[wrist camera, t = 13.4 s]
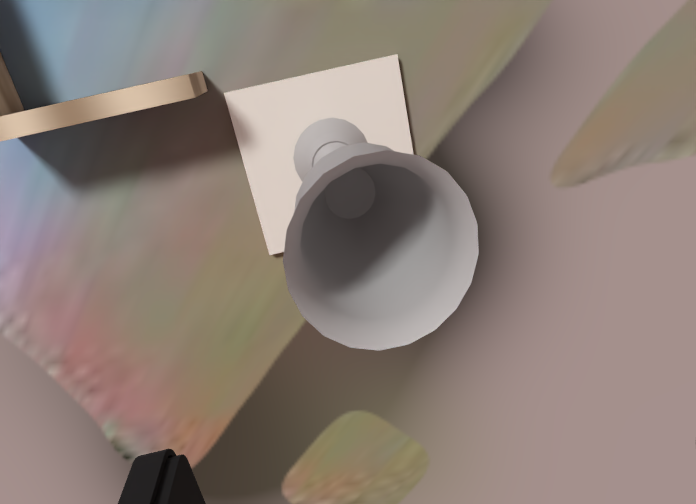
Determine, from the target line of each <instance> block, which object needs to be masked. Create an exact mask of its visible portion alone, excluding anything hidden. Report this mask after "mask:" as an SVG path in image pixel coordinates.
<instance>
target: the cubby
mask: <svg viewBox="0 0 696 504" xmlns="http://www.w3.org/2000/svg"><path fill="white" fill-rule="evenodd" d="M207 91H208V90H207V87H206V83H205V80H204V76H203V73H202V71H201V72H196V73H192V74H187V75H183V76H178V77H174V78H169V79H165V80H160V81H156V82H151V83H147V84H142V85H138V86H134V87H129V88H125V89H120V90H116V91H111V92H107V93H102V94H98V95H93V96H89V97H84V98H80V99H75V100H71V101H66V102H62V103H57V104H53V105H48V106H44V107H39V108H35V109H30V110H26V111H25V110H24V108H23V105H22V103H21V100H20V98H19V96H18V93H17V91H16V89H15V86H14V84H13V81H12V79H11V77H10V74H9V72H8V70H7V67H6V65H5V63H4V60H3V58H2V55H1V53H0V141H4V140H9V139H13V138H18V137H22V136H26V135H31V134H35V133H40V132H44V131H49V130H53V129H58V128H62V127H67V126H71V125H76V124H80V123H84V122H89V121H93V120H98V119H102V118H107V117H111V116H116V115H120V114H125V113H129V112H133V111H138V110H142V109H147V108H151V107H156V106H160V105H165V104H169V103H174V102H178V101H182V100H187V99H191V98H196V97H197V96H199V95H201V94H203V93H205V92H207Z"/></svg>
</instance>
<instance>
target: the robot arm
mask: <svg viewBox="0 0 696 504" xmlns="http://www.w3.org/2000/svg"><path fill="white" fill-rule="evenodd" d="M118 504H205V501H204V499H203V496H202V494H201V491H200V489H199V487H198V484H197V481H196V479H195V477H194V474H193V472H192V469H191V467H190V464H189V462H188V460H187V458H186V456H185V455H178V456H176V454H175V452H174V451H173V450H172V449H166V450H162V451H158V452H154V453H149V454H145V455H141V456H138V457H137V458H135V460H134V462H133V464H132V467H131V470H130V473H129V475H128V478H127V481H126V483H125V486H124V489H123V491H122V494H121V497H120V499H119V503H118Z"/></svg>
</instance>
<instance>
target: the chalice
mask: <svg viewBox="0 0 696 504" xmlns="http://www.w3.org/2000/svg"><path fill="white" fill-rule="evenodd" d="M293 159H294V164H295V170H296V172H297V174H298V175H299V177H300V179H301V181H302V184H301V187H300V189H299V191H298V193H297V195H296V202H295V210H294V214H293V217H292V219H291V221H290V223H289V225H288V228H287V231H286V239H285V248H284V256H283V264H284V269H285V274H286V280H287V285H288V290H289V292H290V294H291V296H292V298H293V300H294V301H295V303H296V305H297V307H298V309H299V311H300V312H301V314H302V316H303V317H304V318H305V319H306V320H307V321H308V322H309V323H311V324H312V325H313V326H314V327H315V328H316V329H317V330H318V331H319V332H320V333H321V334H322V335H324V336H326V337H328V338H330V339H332V340H335V341H337V342H339V343H341V344H344V345H346V346H348V347H350V348H361V349H370V350H384V349H388V348H393V347H398V346H403V345H407V344H410V343H412V342H414V341H416V340H417V339H419V338H421V337H423V336H424V335H427V334H429V333H430V332H432V331H434V330H435V329H436V328H438V327H439V325H441V324H442V323H443V322H444V321H445V320H446V319H447V318H448V317H449V316H450V315H451V314H452V313H453V312H454V311H455V310H456V309H457V307H458V305H459V304H460V302H461V300H462V298H463V296H464V295H465V293H466V291H467V290H468V288H469V286H470V285H471V282H472V278H473V274H474V270H475V266H476V262H477V258H478V254H479V251H478V227H477V222H476V219H475V216H474V214H473V211H472V208H471V205H470V203H469V200H468V198H467V195H466V194H465V193H464V192H463V190H462V189H461V188H460V187H459V185H458V184H457V183H456V182H455V181H454V179H453V178H452V177H451V176H450V174H449V173H448V172H447V171H445V170H443V169H442V168H440V167H438V166H437V165H435V164H433V163H431V162H430V161H428V160H426V159H425V158H423V157H421V156H419V155H413V154H407V153H401V152H395V151H393V150H392V149H390V148H388V147H387V146H382V145H376V144H371V143H368V142H367V140H366V138H365V136H364V134H363V133H362V132H361V131H360V130H359V129H358V128H357V127H356V126H355V125H354V124H352V123H350V122H348V121H346V120H343V119H337V118H328V119H322V120H319V121H317V122H315V123H313V124H311V125H309V126H308V127H307V128H306V129H305V130H304V131H303V132H302V133H301V135H300V137H299V139H298V141H297V143H296V145H295V150H294V157H293Z"/></svg>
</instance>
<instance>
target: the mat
mask: <svg viewBox="0 0 696 504" xmlns="http://www.w3.org/2000/svg"><path fill="white" fill-rule="evenodd" d="M224 95H225V99H226V102H227V106H228V109H229V113H230V117H231V120H232V124H233V127H234V131H235V134H236V138H237V141H238V145H239V148H240V152H241V155H242V159H243V163H244V166H245V170H246V173H247V177H248V180H249V184H250V187H251V191H252V194H253V198H254V201H255V205H256V209H257V212H258V216H259V219H260V223H261V226H262V230H263V233H264V237H265V240H266V244H267V247H268V251H269V255H272V254H277V253H281V252H284V248H285V239H286V231H287V228H288V225H289V223H290V221H291V219H292V217H293V214H294V210H295V202H296V195H297V193H298V191H299V189H300V187H301V184H302V181H301V179H300V177H299V175H298V174H297V172H296V170H295V164H294V159H293V157H294V150H295V145H296V143H297V141H298V139H299V137H300V135H301V133H302V132H303V131H304V130H305V129H306V128H307V127H308V126H309V125H311V124H313V123H315V122H317V121H319V120H322V119H328V118H337V119H343V120H346V121H348V122H350V123H352V124H354V125H355V126H356V127H357V128H358V129H359V130H360V131H361V132H362V133H363V134H364V136H365V138H366V140H367V142H368V143H371V144H376V145H382V146H387V147H388V148H390V149H392V150H393V151H395V152H401V153H407V154H413V148H412V142H411V136H410V129H409V123H408V117H407V111H406V105H405V98H404V92H403V86H402V80H401V74H400V68H399V61H398V55H397V54H394V55H390V56H385V57H381V58H376V59H372V60H367V61H363V62H358V63H354V64H350V65H345V66H341V67H336V68H332V69H327V70H323V71H318V72H314V73H309V74H305V75H301V76H296V77H292V78H287V79H283V80H278V81H274V82H269V83H265V84H260V85H256V86H252V87H247V88H243V89H238V90H234V91H229V92H225V93H224ZM413 155H414V154H413Z"/></svg>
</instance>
